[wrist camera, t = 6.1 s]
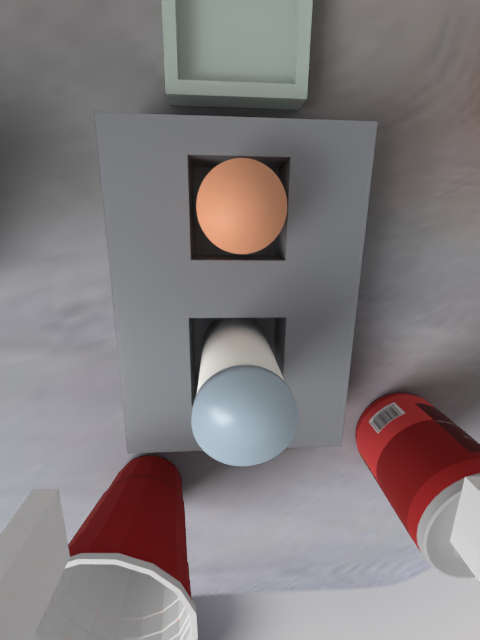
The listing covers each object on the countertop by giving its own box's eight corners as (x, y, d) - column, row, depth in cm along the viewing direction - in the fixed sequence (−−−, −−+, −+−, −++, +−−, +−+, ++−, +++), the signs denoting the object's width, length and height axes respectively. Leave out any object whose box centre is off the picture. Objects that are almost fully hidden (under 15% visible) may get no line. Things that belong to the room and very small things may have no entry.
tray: (169, 105, 22) (165, 93, 20) (163, -43, 20) (158, -72, 18) (299, 109, 23) (307, 98, 21) (307, -34, 21) (316, -61, 19)
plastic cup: (71, 445, 29) (-25, 588, 18) (190, 419, 29) (172, 545, 18) (109, 536, 32) (49, 709, 21) (217, 513, 32) (216, 672, 21)
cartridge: (203, 373, 27) (193, 468, 16) (201, 312, 25) (189, 373, 15) (265, 372, 27) (295, 464, 17) (267, 311, 26) (301, 370, 15)
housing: (142, 415, 29) (127, 453, 24) (120, 136, 23) (94, 112, 18) (321, 410, 30) (341, 446, 25) (345, 142, 24) (377, 121, 19)
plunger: (202, 247, 23) (197, 253, 18) (201, 174, 22) (195, 156, 16) (268, 247, 24) (284, 254, 18) (271, 176, 22) (289, 158, 17)
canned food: (344, 459, 31) (407, 578, 21) (364, 385, 29) (446, 474, 19) (418, 466, 32) (515, 582, 22) (443, 393, 30) (564, 483, 20)
